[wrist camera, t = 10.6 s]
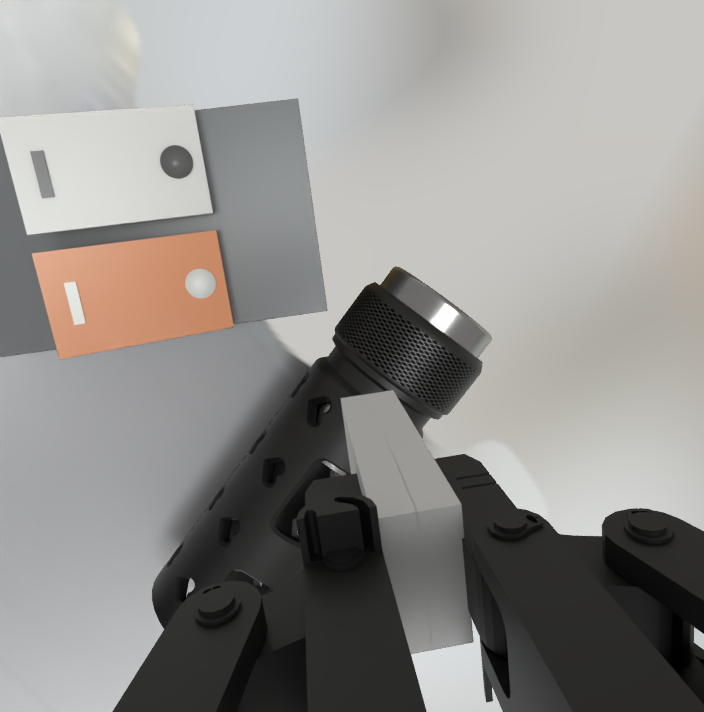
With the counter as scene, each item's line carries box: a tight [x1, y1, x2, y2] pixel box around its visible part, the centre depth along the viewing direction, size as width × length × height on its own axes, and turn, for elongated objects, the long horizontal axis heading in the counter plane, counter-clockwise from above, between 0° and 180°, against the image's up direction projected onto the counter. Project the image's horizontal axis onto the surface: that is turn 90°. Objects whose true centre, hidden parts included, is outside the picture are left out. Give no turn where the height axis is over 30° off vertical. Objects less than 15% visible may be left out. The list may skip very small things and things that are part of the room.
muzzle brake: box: [152, 267, 492, 629], centre depth 39 cm, size 10×28×10 cm, turn 143°
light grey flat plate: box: [0, 105, 213, 235], centre depth 31 cm, size 10×6×1 cm, turn 97°
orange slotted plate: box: [32, 230, 234, 359], centre depth 33 cm, size 10×6×1 cm, turn 97°
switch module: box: [0, 99, 327, 357], centre depth 36 cm, size 28×13×6 cm, turn 97°
